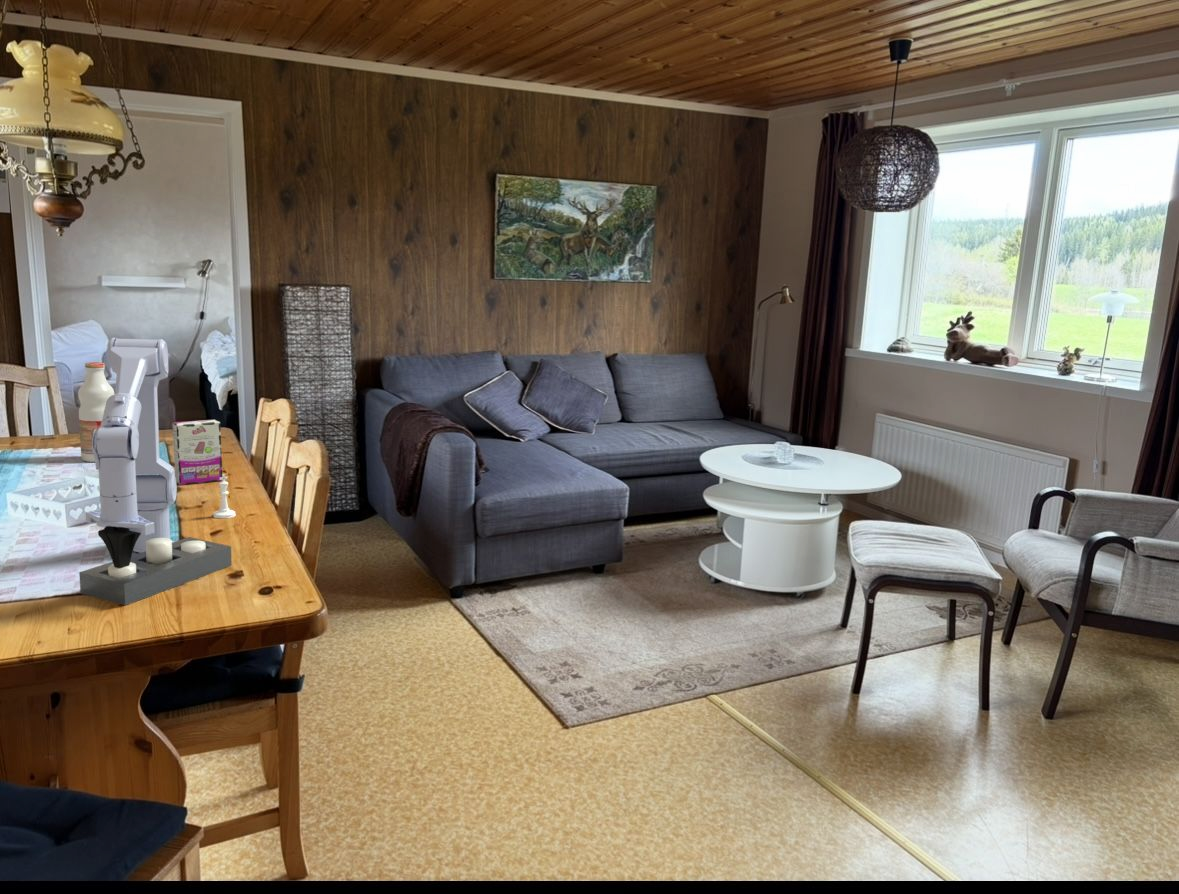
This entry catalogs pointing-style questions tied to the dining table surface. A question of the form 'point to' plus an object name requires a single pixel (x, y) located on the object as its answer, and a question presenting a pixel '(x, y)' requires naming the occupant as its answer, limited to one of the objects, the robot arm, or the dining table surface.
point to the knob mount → (154, 573)
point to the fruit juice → (92, 406)
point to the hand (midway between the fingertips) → (122, 566)
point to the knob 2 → (193, 546)
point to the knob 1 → (122, 570)
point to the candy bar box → (197, 451)
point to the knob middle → (158, 550)
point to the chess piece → (224, 501)
